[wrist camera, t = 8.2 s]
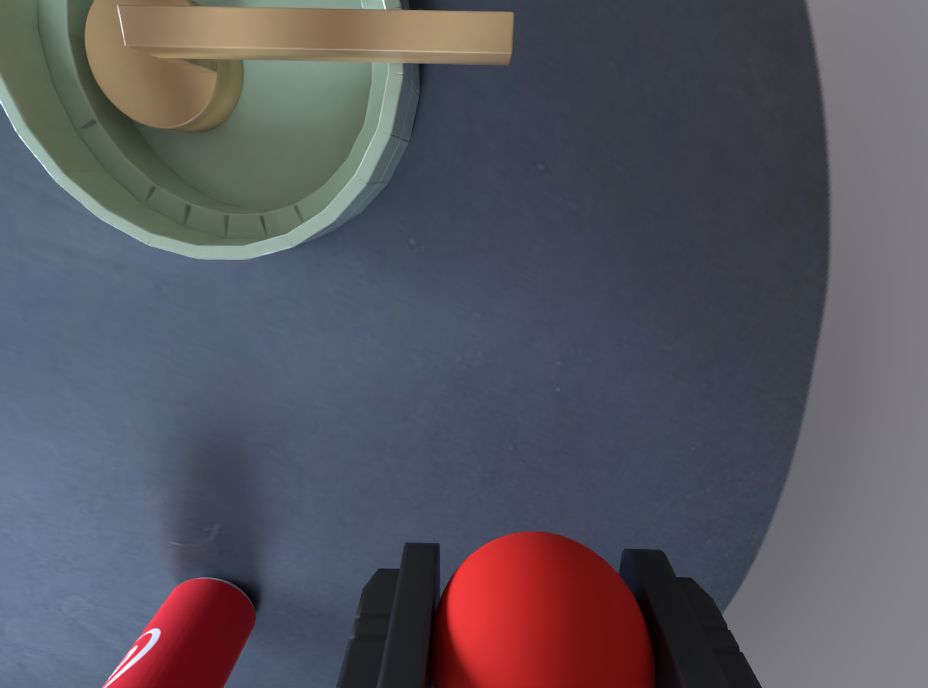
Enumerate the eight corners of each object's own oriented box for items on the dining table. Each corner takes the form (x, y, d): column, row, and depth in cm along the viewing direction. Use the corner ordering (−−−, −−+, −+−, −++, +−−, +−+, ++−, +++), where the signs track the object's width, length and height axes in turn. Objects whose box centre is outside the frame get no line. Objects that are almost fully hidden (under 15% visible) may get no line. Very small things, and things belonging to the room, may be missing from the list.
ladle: (137, 131, 23) (3, 115, 17) (111, -5, 21) (-52, -83, 15) (500, 140, 23) (508, 127, 16) (506, 3, 21) (519, -74, 14)
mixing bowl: (81, -202, 20) (-62, -335, 14) (459, -80, 21) (451, -164, 15) (83, 194, 25) (-20, 200, 20) (382, 276, 26) (357, 302, 21)
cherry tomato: (463, 470, 10) (455, 655, 6) (645, 513, 10) (746, 716, 6) (420, 609, 11) (392, 833, 7) (582, 644, 11) (635, 875, 8)
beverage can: (158, 585, 34) (0, 788, 23) (227, 557, 33) (97, 756, 22) (210, 643, 36) (87, 856, 25) (277, 618, 35) (180, 830, 24)
